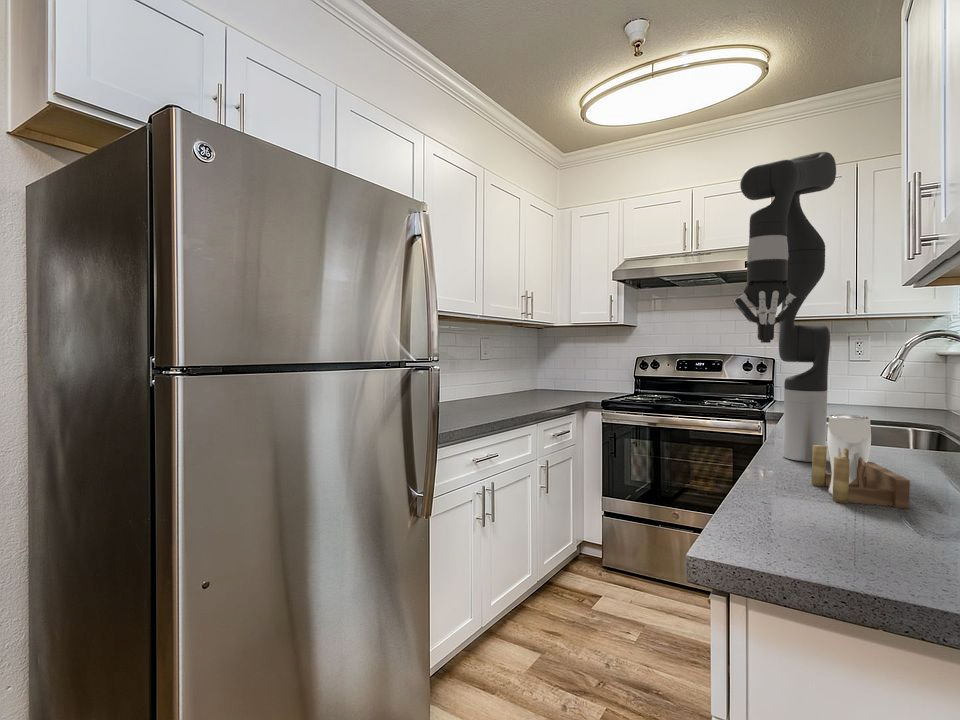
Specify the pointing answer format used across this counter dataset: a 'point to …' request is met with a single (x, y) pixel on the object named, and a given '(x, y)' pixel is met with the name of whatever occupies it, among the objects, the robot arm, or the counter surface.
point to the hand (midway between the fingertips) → (765, 342)
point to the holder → (877, 480)
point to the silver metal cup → (849, 445)
